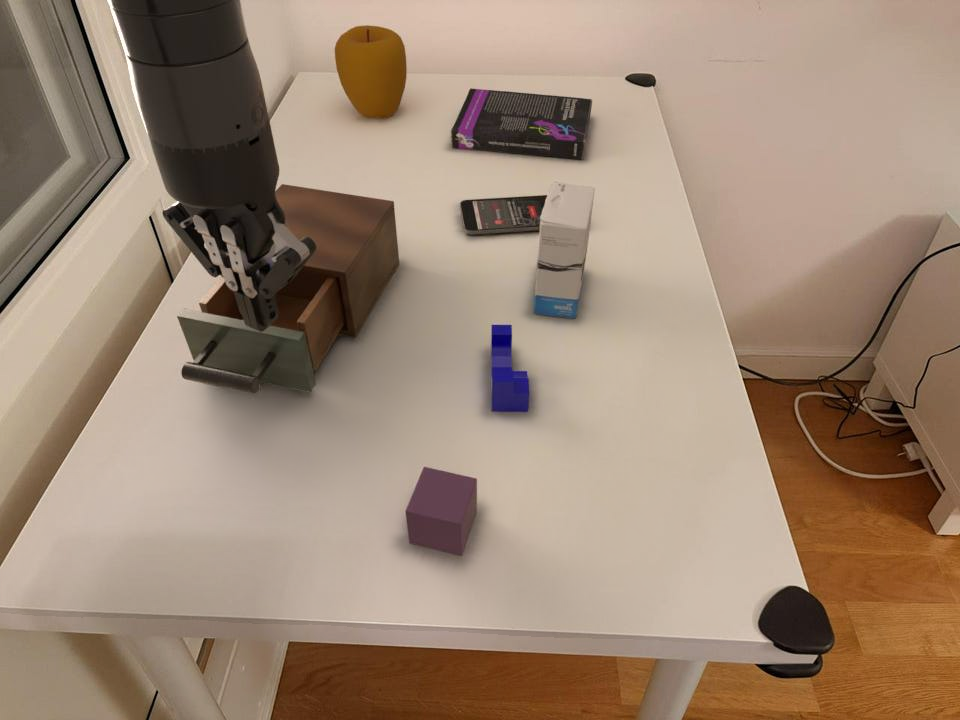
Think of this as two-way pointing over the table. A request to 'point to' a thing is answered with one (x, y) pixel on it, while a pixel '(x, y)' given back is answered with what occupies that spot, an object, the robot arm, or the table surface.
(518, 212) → the smartphone
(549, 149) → the box
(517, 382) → the cable holder
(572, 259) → the ink box
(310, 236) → the cabinet
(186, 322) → the drawer
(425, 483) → the block
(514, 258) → the table surface
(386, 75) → the apple
